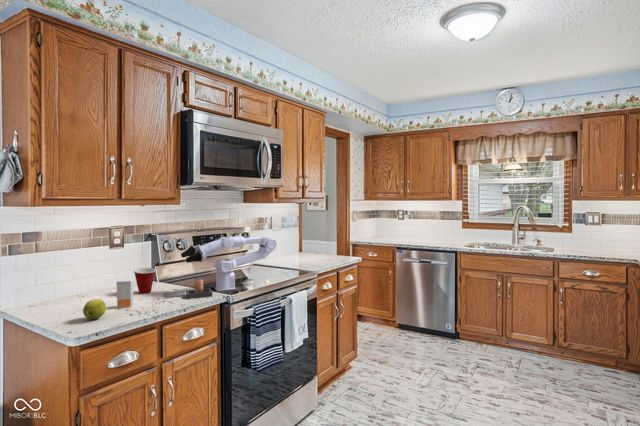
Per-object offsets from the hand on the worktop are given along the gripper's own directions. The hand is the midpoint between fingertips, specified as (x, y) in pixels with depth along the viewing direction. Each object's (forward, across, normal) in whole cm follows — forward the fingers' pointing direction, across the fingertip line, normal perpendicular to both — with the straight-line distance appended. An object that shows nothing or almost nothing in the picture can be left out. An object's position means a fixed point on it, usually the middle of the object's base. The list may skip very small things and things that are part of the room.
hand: (183, 258), depth 207 cm
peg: (0, +12, +17) cm, 21 cm away
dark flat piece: (0, +12, +17) cm, 21 cm away
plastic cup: (+21, -12, +16) cm, 29 cm away
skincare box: (+32, +10, +8) cm, 35 cm away
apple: (+45, +23, +1) cm, 50 cm away
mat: (+9, +2, +16) cm, 19 cm away
